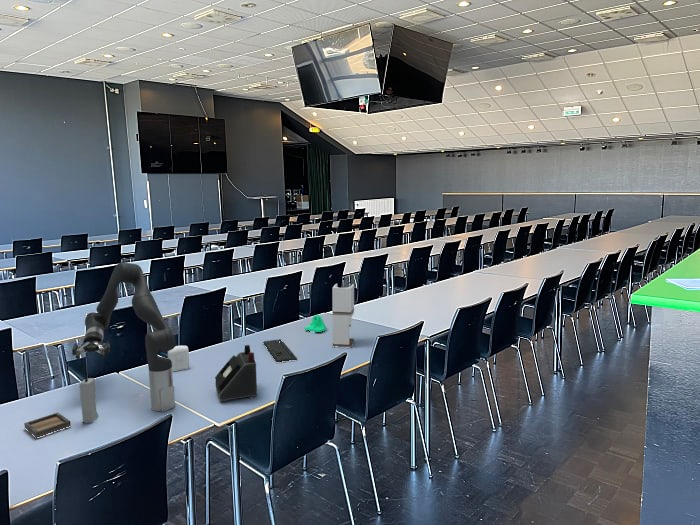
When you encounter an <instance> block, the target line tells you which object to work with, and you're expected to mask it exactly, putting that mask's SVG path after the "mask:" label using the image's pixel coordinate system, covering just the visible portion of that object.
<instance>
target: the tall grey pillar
mask: <svg viewBox="0 0 700 525" xmlns="http://www.w3.org/2000/svg"><path fill="white" fill-rule="evenodd" d="M331 294H332V296H331V297H332V302H331V303H332V347H333V346H334V347H333V348H336V347H335V346H338V347H351V346H352V347H353V345H354V343H353V342H355V338H350V328H351V326H352V317H353V316H354V314H355V284H354V283H353V284H351V286H349V287H338V283H335V284H334V285H333V287H332V293H331ZM352 344H353V345H352ZM352 347H351V348H352Z"/></svg>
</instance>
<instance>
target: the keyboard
mask: <svg viewBox="0 0 700 525" xmlns="http://www.w3.org/2000/svg"><path fill="white" fill-rule="evenodd" d="M281 340H282V339H281V338H279V339H272V340H264V341H263V342H262V344H263V343H264V344H263V346H264V345H265V346H266V347H267V349H268V350H267V349H266V350H267V351H268V353H269V352H270V353H271V354H270V353H269V354H270V356H271V355H272V356H273V357H272V356H271V357H272V358H274V359H275V360H274V359H273V360H274V361H276V362H282V361H289V360H297V361H298V357H297V356H296V355H295V354H294V352H292V351H291V350H290V348H289V346H287V345H286V343H285V342H284V341H283V340H282V341H283V342H282V341H281ZM279 341H280V343H279ZM265 346H264V347H265ZM266 347H265V348H266ZM276 362H275V363H276Z"/></svg>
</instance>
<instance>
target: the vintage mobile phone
mask: <svg viewBox="0 0 700 525" xmlns="http://www.w3.org/2000/svg"><path fill="white" fill-rule="evenodd" d="M86 362H87V361H85V360H84V361H83V367H84V379H83V380H82V381H80V383H79V394H80V404H81V414H82V415H81V416H82V423H83V422H93V421H94V420H95V419H96V418H97V417H98V418H99V414H98V412H97V401H96V400H97V399H96V378H94V377H93V378H92V377H89V378H88V372H87V364H86ZM98 418H97V419H98ZM97 419H96V420H97ZM96 420H95V421H96ZM95 421H94V422H95ZM94 422H93V423H94Z"/></svg>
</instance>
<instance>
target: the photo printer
mask: <svg viewBox="0 0 700 525" xmlns="http://www.w3.org/2000/svg"><path fill="white" fill-rule="evenodd" d="M189 352H190V351H189V347H188V346H187V345H175V347H174V349H172V350H170V351H167V358H168V359H170V360H171V361H172V373H173V372H178V371H183V370H188V369H190V356H189V355H190V354H189Z"/></svg>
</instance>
